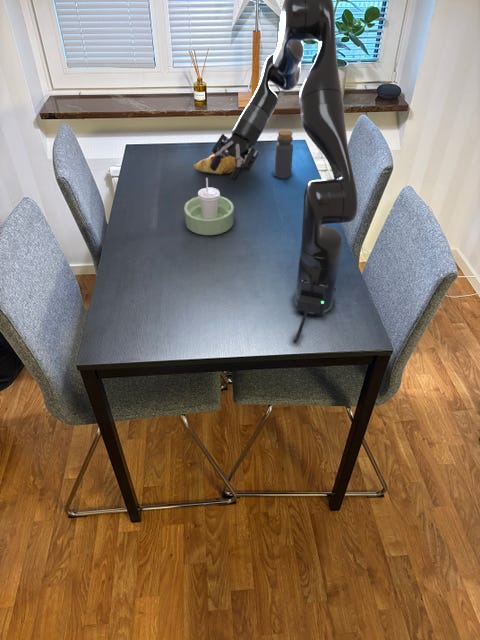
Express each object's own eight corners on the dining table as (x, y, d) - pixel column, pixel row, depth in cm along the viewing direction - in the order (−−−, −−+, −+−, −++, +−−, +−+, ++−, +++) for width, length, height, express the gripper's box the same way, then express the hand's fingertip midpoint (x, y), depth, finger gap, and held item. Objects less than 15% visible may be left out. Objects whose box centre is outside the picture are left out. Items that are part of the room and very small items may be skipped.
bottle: (293, 176, 176) (297, 134, 165) (278, 179, 174) (281, 137, 164) (286, 169, 180) (289, 127, 169) (271, 172, 178) (273, 130, 168)
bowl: (225, 240, 147) (224, 224, 144) (178, 232, 150) (176, 215, 147) (239, 214, 158) (239, 199, 154) (195, 207, 161) (194, 191, 157)
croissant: (196, 184, 178) (196, 170, 171) (190, 160, 181) (191, 146, 174) (254, 176, 182) (257, 162, 174) (248, 153, 185) (250, 138, 177)
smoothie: (209, 213, 157) (207, 171, 147) (225, 220, 154) (224, 178, 144) (195, 222, 153) (192, 179, 144) (210, 229, 150) (209, 186, 141)
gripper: (227, 110, 146) (198, 160, 148) (262, 125, 138) (231, 178, 140) (240, 124, 152) (212, 171, 154) (274, 139, 144) (245, 189, 146)
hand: (221, 174), depth 147 cm, fingers open, 8 cm apart
